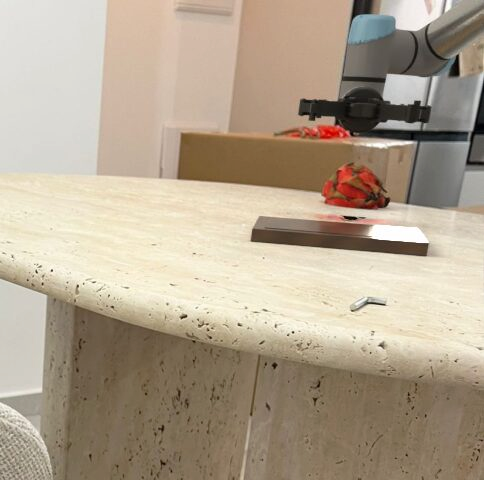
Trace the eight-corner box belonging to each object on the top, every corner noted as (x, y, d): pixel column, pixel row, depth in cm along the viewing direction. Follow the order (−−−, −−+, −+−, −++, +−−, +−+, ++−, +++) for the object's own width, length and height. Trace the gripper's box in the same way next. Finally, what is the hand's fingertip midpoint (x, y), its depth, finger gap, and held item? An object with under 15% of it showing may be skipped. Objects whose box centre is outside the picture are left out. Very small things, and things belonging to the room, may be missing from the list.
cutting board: (416, 240, 121) (418, 227, 121) (426, 256, 109) (429, 242, 108) (257, 227, 126) (259, 215, 126) (250, 241, 114) (252, 227, 113)
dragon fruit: (332, 222, 148) (368, 246, 138) (298, 189, 144) (332, 211, 134) (373, 179, 145) (412, 200, 135) (339, 144, 142) (376, 162, 131)
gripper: (432, 137, 162) (447, 142, 143) (284, 128, 168) (278, 132, 149) (441, 90, 159) (457, 89, 140) (290, 83, 166) (285, 81, 146)
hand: (365, 111), depth 145 cm, fingers open, 13 cm apart
